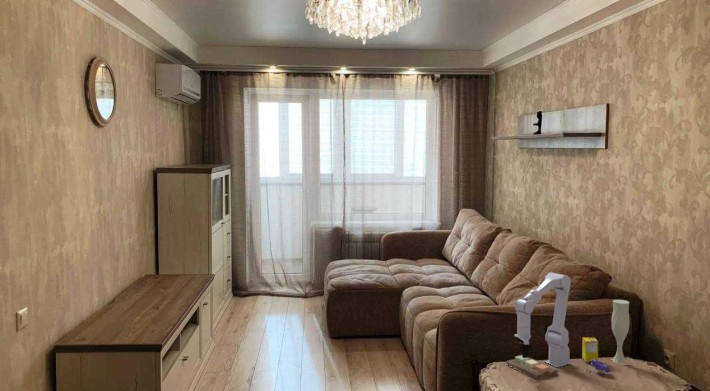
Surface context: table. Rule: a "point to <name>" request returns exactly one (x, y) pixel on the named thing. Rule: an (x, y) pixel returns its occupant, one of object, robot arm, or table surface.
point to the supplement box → (589, 349)
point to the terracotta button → (541, 368)
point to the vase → (620, 326)
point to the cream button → (531, 363)
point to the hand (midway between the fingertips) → (523, 354)
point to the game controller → (599, 366)
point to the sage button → (521, 359)
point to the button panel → (532, 369)
